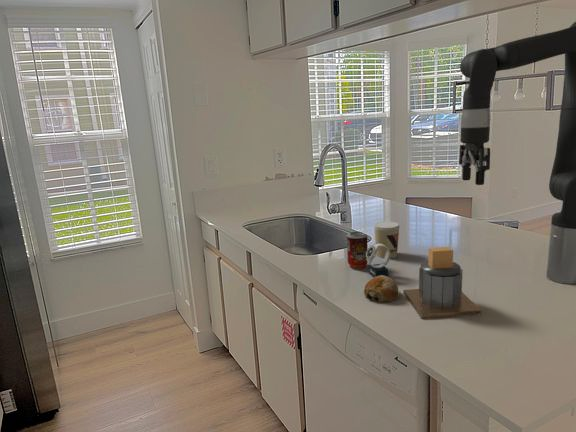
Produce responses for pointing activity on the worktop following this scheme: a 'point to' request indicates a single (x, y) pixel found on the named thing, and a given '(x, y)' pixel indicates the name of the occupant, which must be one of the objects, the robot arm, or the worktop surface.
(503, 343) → the worktop surface
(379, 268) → the watch
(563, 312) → the worktop surface
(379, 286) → the bread roll
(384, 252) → the coffee cup
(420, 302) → the gray cylinder on base
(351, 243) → the soda can
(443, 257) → the cap
